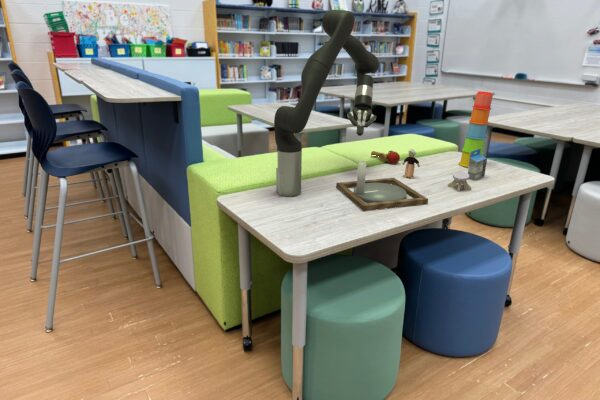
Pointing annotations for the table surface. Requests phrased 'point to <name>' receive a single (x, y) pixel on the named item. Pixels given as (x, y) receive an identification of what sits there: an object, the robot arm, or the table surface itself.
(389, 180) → the dial frame
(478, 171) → the label tape box
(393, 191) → the dial
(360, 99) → the robot arm
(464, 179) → the tree stump
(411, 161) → the grandmother figurine
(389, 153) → the kendama
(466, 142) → the stacking cups
